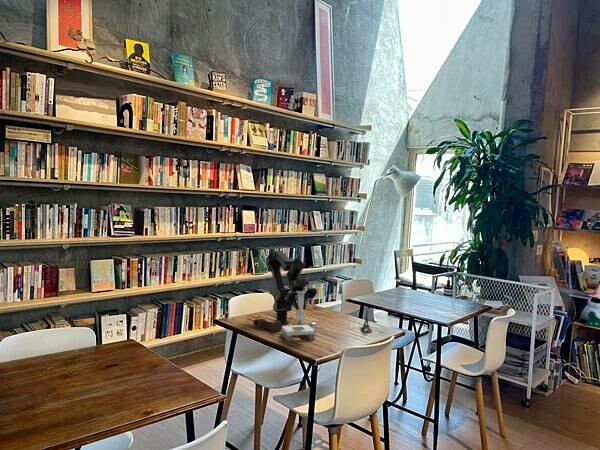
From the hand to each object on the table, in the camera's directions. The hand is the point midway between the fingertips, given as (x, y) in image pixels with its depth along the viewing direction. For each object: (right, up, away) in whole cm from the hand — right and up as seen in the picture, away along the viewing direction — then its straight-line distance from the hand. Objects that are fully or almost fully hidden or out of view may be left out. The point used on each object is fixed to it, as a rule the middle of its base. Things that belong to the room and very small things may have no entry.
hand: (301, 309), depth 203 cm
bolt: (-17, -12, +13) cm, 25 cm away
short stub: (+5, -13, +10) cm, 17 cm away
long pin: (-1, -7, +2) cm, 7 cm away
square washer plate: (-2, -13, +2) cm, 13 cm away
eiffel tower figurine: (+33, -15, +16) cm, 39 cm away
